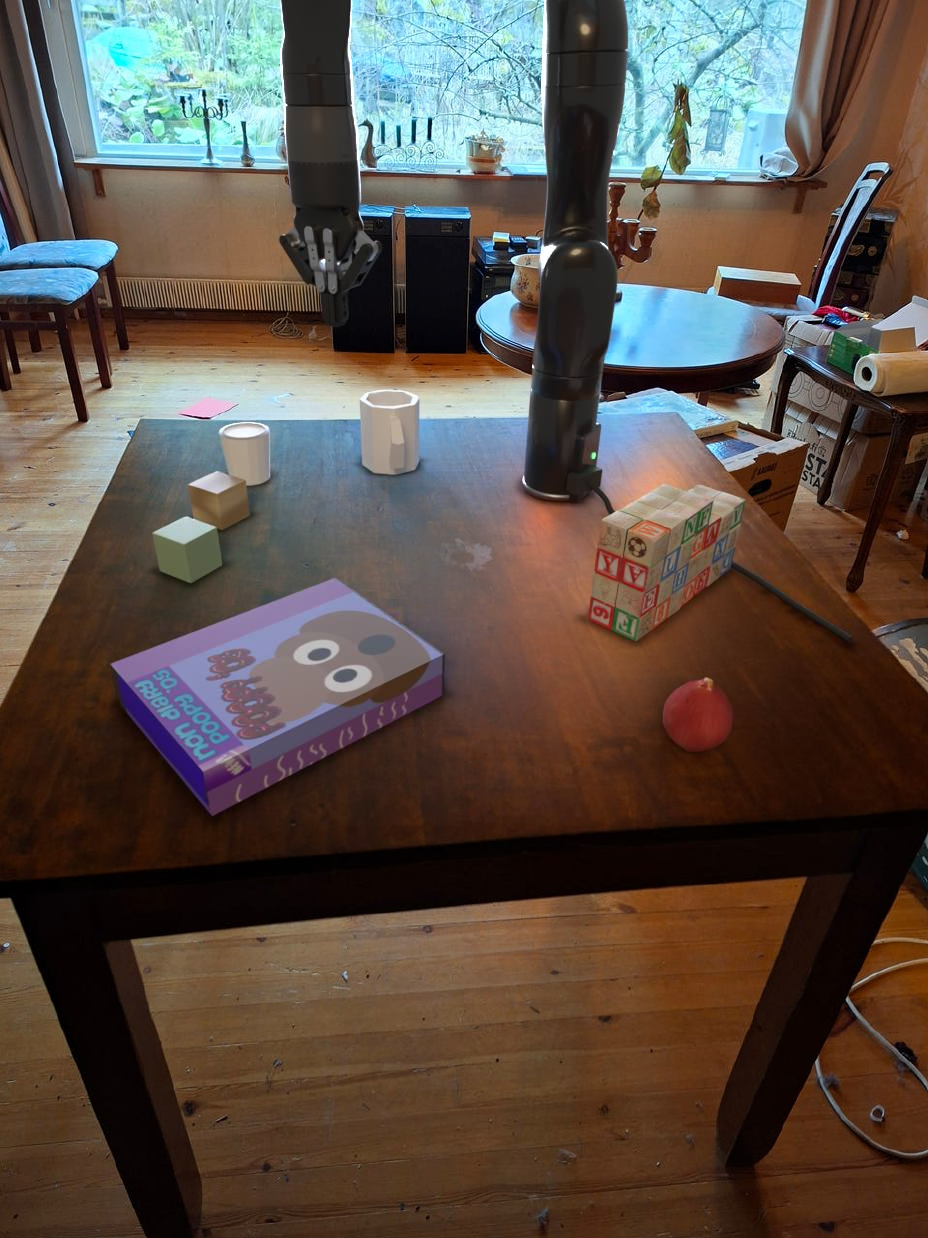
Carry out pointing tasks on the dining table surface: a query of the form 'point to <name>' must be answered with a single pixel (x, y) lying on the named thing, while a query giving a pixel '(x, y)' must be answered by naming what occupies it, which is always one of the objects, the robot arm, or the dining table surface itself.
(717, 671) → the dining table surface
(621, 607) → the stack of blocks
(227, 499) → the birch block
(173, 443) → the dining table surface
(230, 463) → the white cup
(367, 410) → the mug
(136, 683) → the cereal box
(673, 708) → the onion
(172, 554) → the sage block
